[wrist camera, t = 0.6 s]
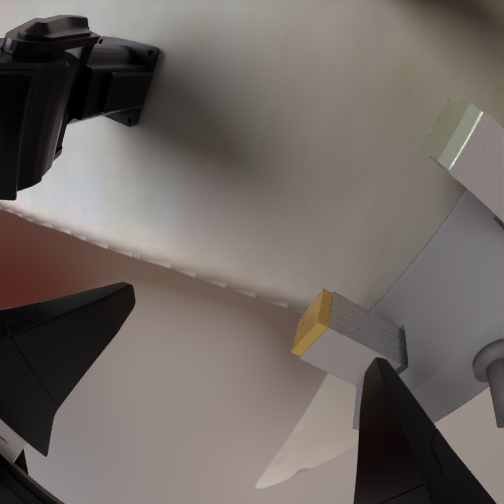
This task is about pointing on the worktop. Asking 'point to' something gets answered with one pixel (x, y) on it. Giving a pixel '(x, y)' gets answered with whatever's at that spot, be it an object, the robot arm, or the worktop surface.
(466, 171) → the green button
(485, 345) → the switch panel
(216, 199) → the worktop surface
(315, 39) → the worktop surface
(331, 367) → the mustard button
